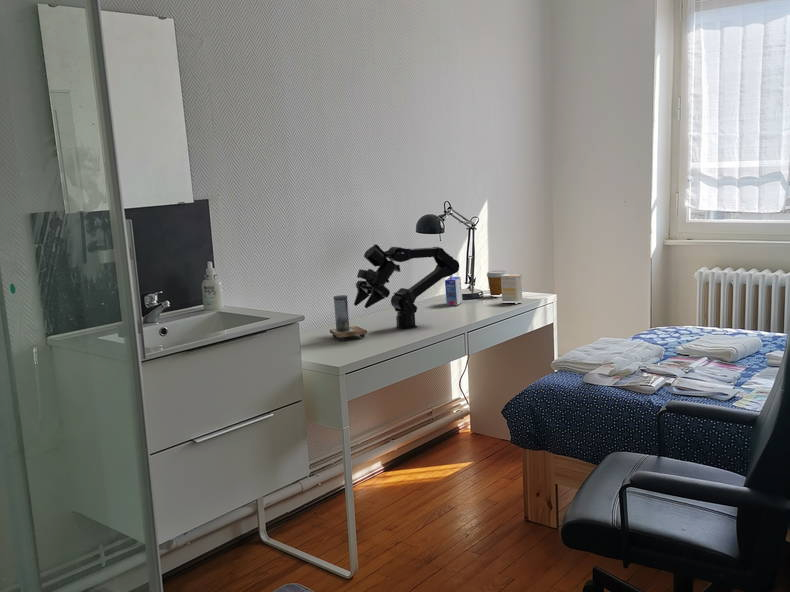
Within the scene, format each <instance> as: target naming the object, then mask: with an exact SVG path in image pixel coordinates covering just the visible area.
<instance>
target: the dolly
mask: <svg viewBox="0 0 790 592" xmlns="http://www.w3.org/2000/svg"><path fill="white" fill-rule="evenodd" d="M349 329H350V330H349V331H343V332H338V331H336V328H333V329H331V328H330V329H329V333H330V334H331V335H332V337H333V338H337V337H338V338H339V340H340V341H341V342H342V341H345V339H346V338H347V337H354V336H359V337H360V338H362V339H363V338H365V336H366V334H368V329H364V328H363V327H360V326H357V325H355V326H354V325H352V326H349ZM345 337H346V338H345Z"/></svg>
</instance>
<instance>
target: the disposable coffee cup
mask: <svg viewBox="0 0 790 592" xmlns="http://www.w3.org/2000/svg"><path fill="white" fill-rule="evenodd" d="M504 274H507V272H506V270H489V271H487V273H486V277H487V282H488V288H489V293H490V294H489V295H490V296H491V295H500V294H502V289H501V275H504Z"/></svg>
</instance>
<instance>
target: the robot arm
mask: <svg viewBox="0 0 790 592" xmlns="http://www.w3.org/2000/svg"><path fill="white" fill-rule="evenodd" d="M363 257H364V258H365V260H366V261H368V262H369V263H370V264H371V265H372V266H374V267H375V268H376V267H378V268H377V269H376V271H375V270H374V269H372V268H367V270H365V269H358V272H357V276H356V278H358V279H362V280H357V282H356V283H355V288H356V290H357V293H356V297H355V300H354V303H353V305H354V306H355V307H357V306H359V305H360V304H361V303H362V302H363V301H364V300H366V299H367V298H368V299H367V300H366V303H365V304H364V308H365V309H368V308H370V307H371V306H374V305H375V304H376V303H378V302H380V301H382V300H385V299H388V297H389V296H390V294H391V292H390V289H388V288H387V287H386V286H385V284H389V282H390V280H389V279H390V278H391V276H392V275H393V274H394V272H397V273H400V272H401V267H400V265H401V264H396V263H395V262H397V263H403V262H407V261H409V260H412V259H422V258H433V260H434V262H435V263H436V265H435V268H434V270H433V271H431V272H430V273H429V274H427V275H425V276H424V277H423V278H422V279H420V280H419V281H418V282H416V283H415V284H414V285H412V286H411V287H410V288H405V287H401V288H400V289H398V290H397V291H396V292H393V295H391V297H390V298H391V299H390V304H391V306H392V307H393V308H394V311H395V312H396V320H395V321H396V325H395V326H396V328H398V329H401V330H407V328H408V329H412V328H414V327H415V328H418V326H417V325H416V315H415V313H417V312H418V311H417V310H418V306H417V305H416V304H414V303H415V302H416V300H417V298H418V297H419V296H421V295H422V294H423V293H425V292H426V291H427V290H429V289H430V288H431V287H432V286H434V285H436V284H437V283H438V282H440V281H441V280H442V279H444V278H449V277H450V276H451V275H452V276H453V275H455V274H457V273H458V272H459V270H460V263H459V261H458V260H457V259H454V257H453V256H451V255H450V254H449V253H447V252H446V251H445V250H444V248H442V247H439V246H433V247H432V246H431V247H420V248H417V247H416V248H408V247H399V246H391V247H389V248H388V250H386V251H384V250H383V249H382V248H381V247H380V246H379V245H378V244H373V246H371V247H370V248H369V247H368V249H367V250H365V252H364V254H363Z"/></svg>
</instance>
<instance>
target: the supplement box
mask: <svg viewBox="0 0 790 592" xmlns="http://www.w3.org/2000/svg"><path fill="white" fill-rule="evenodd" d="M522 282H523V281H522V274H515V273H513V274H511V273H506V274H504V275H501V289H502V297H501V301H519V300H521V299H522V300H523V288H522V287H523V286H522Z"/></svg>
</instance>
